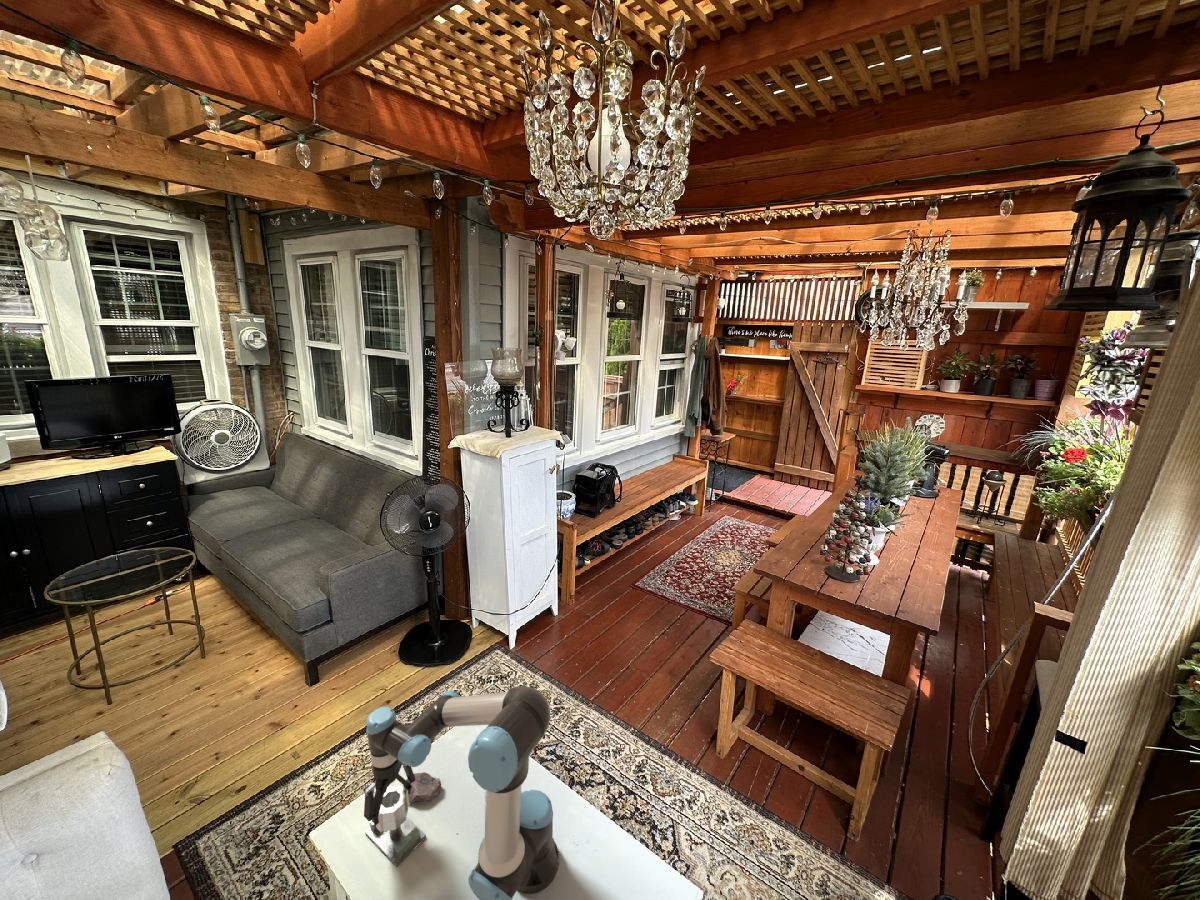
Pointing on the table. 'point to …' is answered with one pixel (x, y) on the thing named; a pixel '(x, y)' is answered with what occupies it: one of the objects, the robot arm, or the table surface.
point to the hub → (394, 808)
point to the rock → (424, 787)
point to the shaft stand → (396, 840)
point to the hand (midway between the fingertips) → (393, 816)
